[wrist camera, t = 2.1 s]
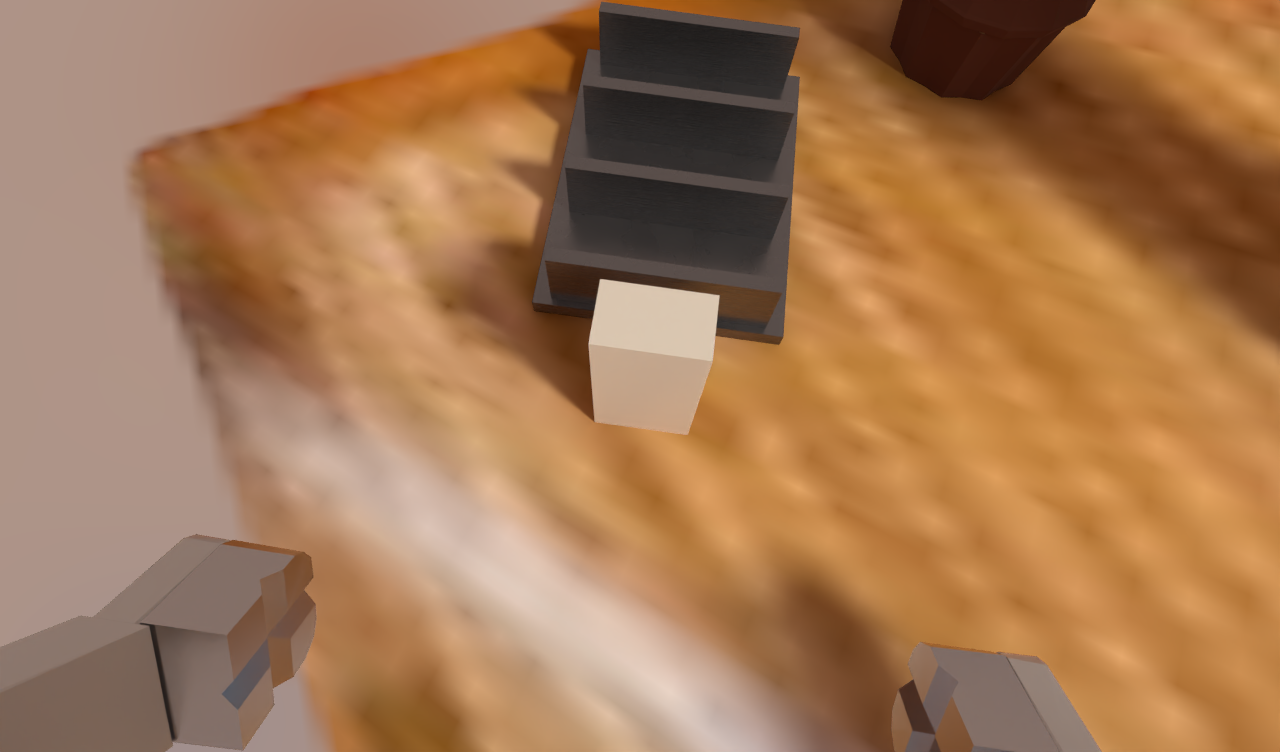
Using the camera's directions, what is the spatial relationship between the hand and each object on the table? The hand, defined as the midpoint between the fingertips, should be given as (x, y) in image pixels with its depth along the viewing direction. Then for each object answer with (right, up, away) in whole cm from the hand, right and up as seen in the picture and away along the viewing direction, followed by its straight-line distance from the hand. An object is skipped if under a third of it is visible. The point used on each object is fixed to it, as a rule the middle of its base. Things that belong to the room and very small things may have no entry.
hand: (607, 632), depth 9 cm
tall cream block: (+1, +2, +28) cm, 28 cm away
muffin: (+22, +26, +39) cm, 52 cm away
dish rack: (+3, +15, +33) cm, 37 cm away
